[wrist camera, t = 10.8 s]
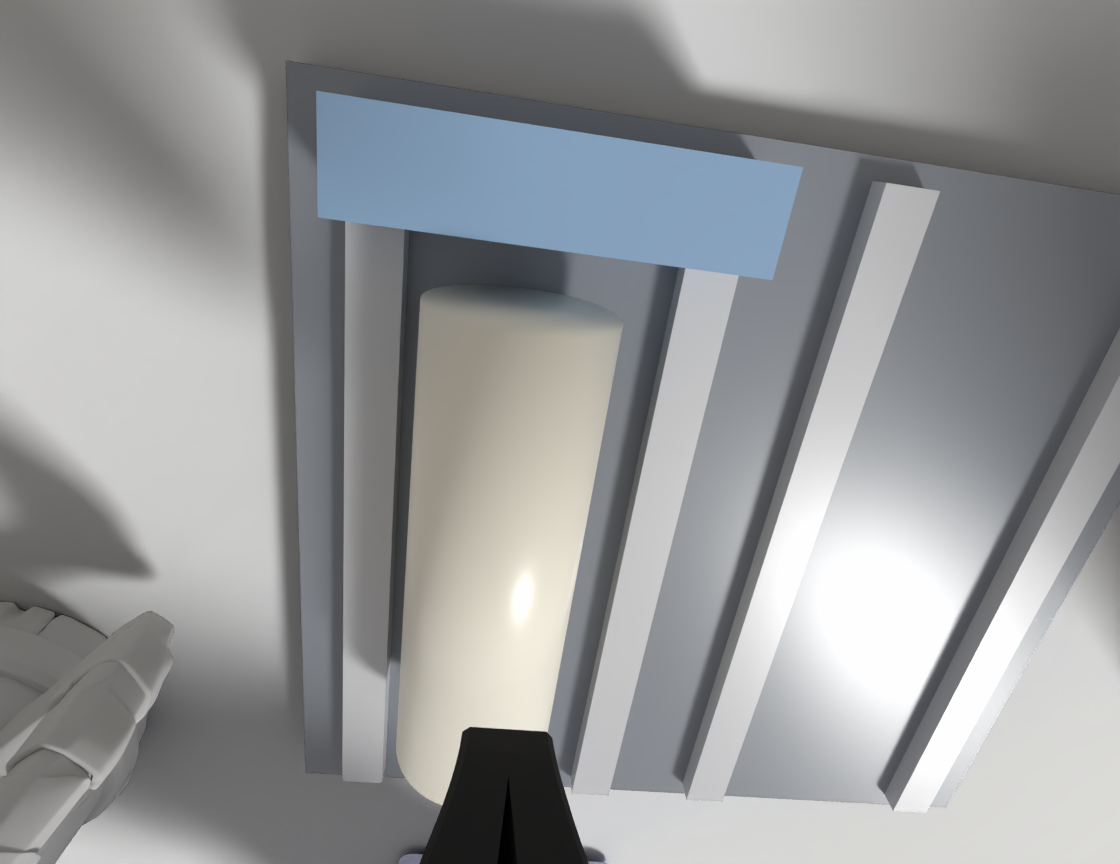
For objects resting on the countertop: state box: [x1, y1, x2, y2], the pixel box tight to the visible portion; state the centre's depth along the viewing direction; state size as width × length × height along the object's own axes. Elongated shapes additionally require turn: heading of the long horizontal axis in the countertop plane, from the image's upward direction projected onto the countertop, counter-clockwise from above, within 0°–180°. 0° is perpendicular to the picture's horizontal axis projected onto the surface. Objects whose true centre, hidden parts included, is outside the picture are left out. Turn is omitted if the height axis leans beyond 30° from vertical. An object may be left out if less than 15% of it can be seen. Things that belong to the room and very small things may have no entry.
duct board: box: [286, 61, 1120, 813], centre depth 17 cm, size 20×22×4 cm
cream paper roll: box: [396, 284, 623, 805], centre depth 15 cm, size 12×4×4 cm, turn 172°
